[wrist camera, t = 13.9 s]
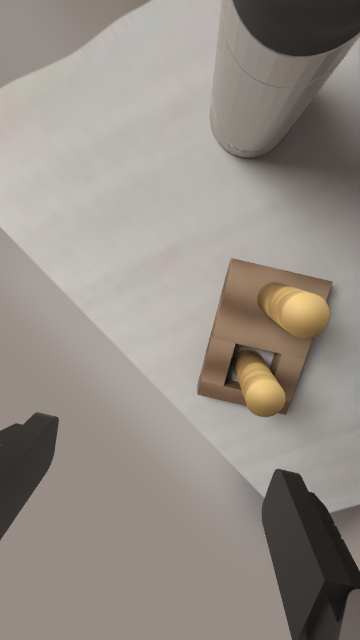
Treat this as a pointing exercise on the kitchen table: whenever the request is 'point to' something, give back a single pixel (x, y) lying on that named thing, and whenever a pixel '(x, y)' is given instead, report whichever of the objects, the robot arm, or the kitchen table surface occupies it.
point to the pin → (258, 384)
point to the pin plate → (264, 326)
